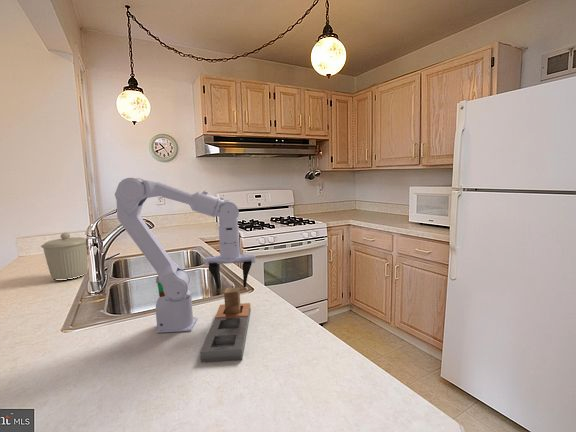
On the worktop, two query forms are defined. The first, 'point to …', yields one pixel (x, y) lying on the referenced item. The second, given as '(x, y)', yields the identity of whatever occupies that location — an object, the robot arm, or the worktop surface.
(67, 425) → the worktop surface
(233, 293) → the peg
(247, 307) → the rail
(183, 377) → the worktop surface
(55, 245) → the canister
